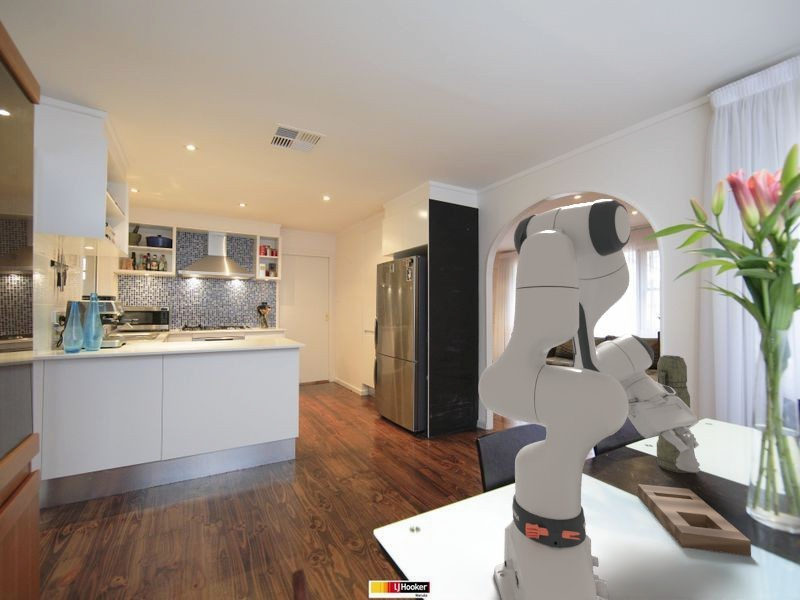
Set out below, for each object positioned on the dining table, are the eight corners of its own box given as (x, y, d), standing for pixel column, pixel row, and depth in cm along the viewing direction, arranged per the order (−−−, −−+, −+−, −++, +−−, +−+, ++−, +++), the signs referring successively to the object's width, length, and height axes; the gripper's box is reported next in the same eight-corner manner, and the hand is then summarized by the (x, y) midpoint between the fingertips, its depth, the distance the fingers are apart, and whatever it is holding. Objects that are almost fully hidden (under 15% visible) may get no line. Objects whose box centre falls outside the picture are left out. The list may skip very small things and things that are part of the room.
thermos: (699, 468, 114) (696, 356, 115) (682, 476, 108) (679, 358, 109) (667, 458, 121) (664, 353, 123) (649, 465, 115) (647, 355, 117)
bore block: (751, 556, 72) (750, 540, 72) (682, 547, 75) (681, 532, 75) (689, 500, 94) (689, 489, 94) (637, 495, 96) (637, 484, 97)
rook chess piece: (705, 473, 80) (704, 437, 81) (682, 472, 81) (681, 435, 82) (692, 465, 85) (691, 431, 85) (671, 464, 86) (670, 429, 86)
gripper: (629, 393, 85) (677, 449, 76) (675, 386, 95) (723, 436, 85) (610, 408, 89) (654, 463, 80) (657, 400, 98) (701, 449, 89)
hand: (690, 449), depth 83 cm, fingers closed on rook chess piece, 3 cm apart
